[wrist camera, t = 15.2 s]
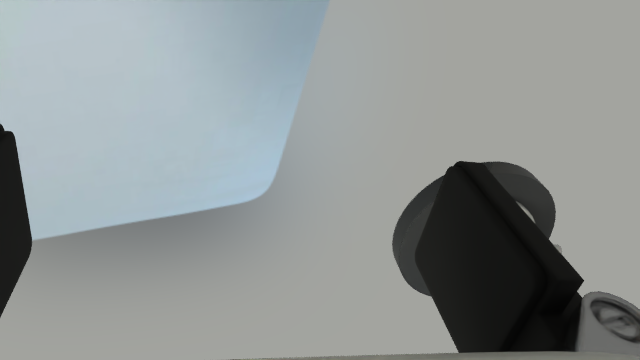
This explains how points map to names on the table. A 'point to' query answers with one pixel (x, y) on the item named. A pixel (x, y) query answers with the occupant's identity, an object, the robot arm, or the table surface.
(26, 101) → the table surface
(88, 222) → the table surface
